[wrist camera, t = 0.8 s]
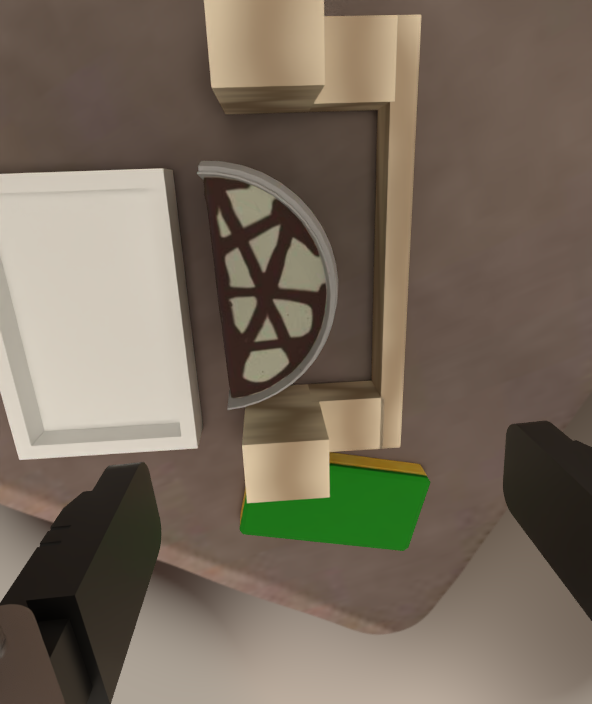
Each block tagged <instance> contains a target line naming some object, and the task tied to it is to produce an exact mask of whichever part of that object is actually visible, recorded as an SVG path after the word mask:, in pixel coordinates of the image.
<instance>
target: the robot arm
mask: <svg viewBox="0 0 592 704" xmlns="http://www.w3.org/2000/svg"><path fill="white" fill-rule="evenodd" d="M503 492H504V497H505V500H506V503H507V506H508V508H509V510H510V512H511V514H512V515H513V516H514V518H515V519H516V520H517V522H518V523H519V524H520V526H521V527H522V528H523V530H524V531H525V533H526V534H527V535H528V537H529V538H530V539H531V540H532V542H533V543H534V544H535V546H536V547H537V548H538V550H539V551H540V552H541V554H542V555H543V557H544V558H545V559H546V560H547V562H548V563H549V564H550V566H551V567H552V569H553V570H554V571H555V573H556V574H557V575H558V576H559V578H560V579H561V581H562V582H563V583H564V584H565V586H566V587H567V588H568V590H569V591H570V593H571V594H572V595H573V597H574V598H575V599H576V600H577V602H578V603H579V605H580V606H581V607H582V608H583V610H584V611H585V613H586V614H587V615H588V617H589V618H590V619H591V621H592V447H590V446H588V445H585V444H583V443H581V442H579V441H572V440H571V439H570V438H569V437H568V436H566V435H565V434H564V433H563V432H561V431H560V430H559V429H558V428H557V427H555V426H554V425H553V424H552V423H550V422H548V421H537V422H528V423H518V424H511V425H510V426H509V427H508V429H507V433H506V445H505V460H504V475H503ZM160 544H161V522H160V517H159V513H158V508H157V504H156V500H155V495H154V491H153V486H152V482H151V478H150V473H149V470H148V467H147V465H146V464H145V463H144V462H140V463H131V464H121V465H112V466H108V467H107V468H106V469H105V471H104V472H103V474H102V476H101V477H100V479H99V481H98V482H97V484H96V486H95V487H94V489H93V490H92V491H86V492H83V493H81V494H80V495H79V496H78V497H76V498H75V499H74V500H73V501H72V502H70V503H69V504H68V505H67V506H66V507H64V508H63V509H62V511H61V512H60V514H59V515H58V517H57V518H56V520H55V521H54V523H53V525H52V526H51V530H50V531H48V532H47V534H46V535H45V536H44V538H43V540H42V541H41V543H40V547H37V549H36V550H35V551H34V553H33V554H32V556H31V558H30V559H29V561H28V562H27V564H26V565H25V567H24V568H23V570H22V571H21V572H20V574H19V576H18V577H17V579H16V580H15V582H14V583H13V585H12V586H11V588H10V589H9V591H8V592H7V594H6V595H5V597H4V598H3V600H2V601H1V603H0V704H111V701H112V698H113V695H114V692H115V689H116V685H117V682H118V679H119V676H120V673H121V670H122V667H123V663H124V660H125V657H126V654H127V651H128V648H129V644H130V641H131V638H132V635H133V632H134V629H135V626H136V622H137V619H138V616H139V613H140V610H141V607H142V604H143V600H144V597H145V594H146V591H147V588H148V585H149V582H150V578H151V575H152V572H153V569H154V566H155V563H156V559H157V556H158V553H159V550H160Z"/></svg>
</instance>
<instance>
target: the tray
mask: <svg viewBox="0 0 592 704" xmlns="http://www.w3.org/2000/svg"><path fill="white" fill-rule="evenodd" d="M0 392H1V396H2V399H3V403H4V406H5V410H6V413H7V417H8V421H9V424H10V428H11V431H12V435H13V439H14V442H15V446H16V449H17V453H18V457H19V460H25V459H40V458H56V457H71V456H86V455H102V454H117V453H132V452H148V451H163V450H178V449H194V448H198V445H199V441H200V437H201V433H202V429H203V422H202V414H201V405H200V397H199V388H198V379H197V371H196V362H195V354H194V345H193V337H192V328H191V320H190V311H189V303H188V294H187V286H186V277H185V268H184V260H183V251H182V243H181V234H180V226H179V217H178V209H177V200H176V192H175V183H174V175H173V170H170V169H164V168H158V169H130V170H101V171H72V172H43V173H14V174H0Z"/></svg>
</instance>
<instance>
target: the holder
mask: <svg viewBox="0 0 592 704" xmlns="http://www.w3.org/2000/svg"><path fill="white" fill-rule="evenodd" d="M204 6H205V18H206V30H207V41H208V53H209V65H210V76H211V88H212V90H213V92H214V94H215V95H216V97H217V99H218V101H219V103H220V105H221V107H222V109H223V111H224V112H225V114H257V113H292V112H326V111H361V110H378V115H377V159H376V202H375V246H374V289H373V333H372V377H371V380H370V381H353V382H336V383H319V384H302V385H290V386H288V387H287V388H285V389H284V390H282V391H281V392H279V393H278V394H276V395H274V396H272V397H270V398H268V399H266V400H263V401H261V402H259V403H256V404H252V405H249V406H246V407H245V416H244V429H243V441H242V450H243V461H244V473H245V485H246V496H247V503H258V502H272V501H286V500H300V499H313V498H327V497H330V477H329V452H336V451H351V450H366V449H381V448H396V447H400V442H401V421H402V401H403V380H404V360H405V339H406V319H407V298H408V278H409V257H410V237H411V216H412V196H413V175H414V155H415V134H416V114H417V93H418V73H419V52H420V32H421V15H375V16H324V0H204Z"/></svg>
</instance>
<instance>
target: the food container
mask: <svg viewBox="0 0 592 704" xmlns="http://www.w3.org/2000/svg"><path fill="white" fill-rule="evenodd" d="M198 169H199V172H197V174H198V175H199V176H200V177H201V178H202V179H203V180H204V188H205V199H206V202H207V209H208V216H209V225H210V234H211V242H212V250H213V258H214V266H215V275H216V284H217V293H218V302H219V309H220V316H221V323H222V331H223V339H224V347H225V355H226V363H227V371H228V379H229V386H230V390H229V400H228V410H230V409H236V408H242V407H246V406H249V405H252V404H256V403H259V402H261V401H263V400H266V399H268V398H270V397H272V396H274V395H276V394H278V393H279V392H281V391H282V390H284V389H285V388H287V387H288V386H290V385H291V384H293V383H294V382H295V381H296V380H297V379H298V378H299V377H300V376H301V375H303V374H304V373H305V372H306V371H307V369H308V368H309V367H310V366H311V364H312V363H313V362H314V361H315V359H316V358H317V356H318V355H319V353H320V351H321V350H322V348H323V346H324V344H325V343H326V340H327V337H328V335H329V332H330V329H331V327H332V324H333V320H334V315H335V310H336V305H337V299H338V276H337V268H336V262H335V258H334V255H333V251H332V248H331V245H330V242H329V240H328V238H327V236H326V234H325V232H324V229H323V227H322V226H321V224H320V223H319V221H318V220H317V218H316V217H315V215H314V214H313V212H312V211H311V210H310V209H309V207H308V206H307V205H306V204H305V203H304V202H303V201H302V200H301V199H300V198H299V197H298V196H297V195H296V194H295V193H294V192H292V191H291V190H290V189H288V188H287V187H286V186H285V185H283V184H282V183H281V182H279V181H277V180H275V179H273V178H272V177H270V176H268V175H266V174H264V173H263V172H260V171H257V170H254V169H252V168H249V167H246V166H243V165H239V164H233V163H228V162H222V161H201V162H200V164H199V165H198Z"/></svg>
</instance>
